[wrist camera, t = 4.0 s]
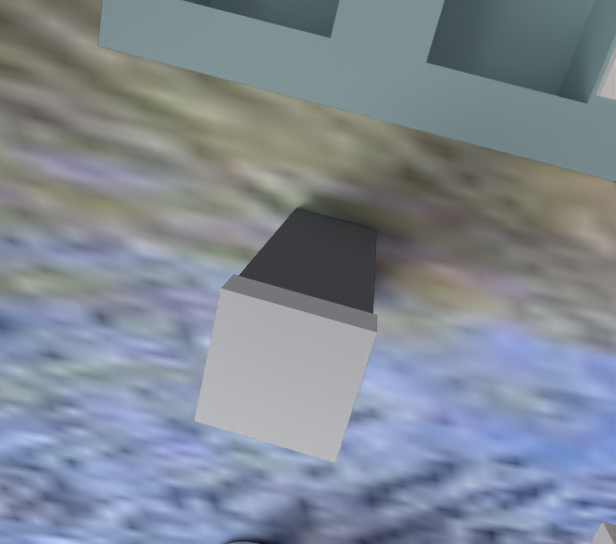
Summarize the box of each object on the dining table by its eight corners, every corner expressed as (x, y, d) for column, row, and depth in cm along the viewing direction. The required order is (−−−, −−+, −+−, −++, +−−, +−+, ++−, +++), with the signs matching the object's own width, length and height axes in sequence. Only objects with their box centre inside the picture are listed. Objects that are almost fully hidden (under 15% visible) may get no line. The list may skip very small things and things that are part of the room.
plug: (355, 307, 26) (335, 463, 15) (275, 284, 27) (194, 420, 15) (379, 228, 25) (376, 332, 13) (294, 205, 25) (221, 288, 14)
